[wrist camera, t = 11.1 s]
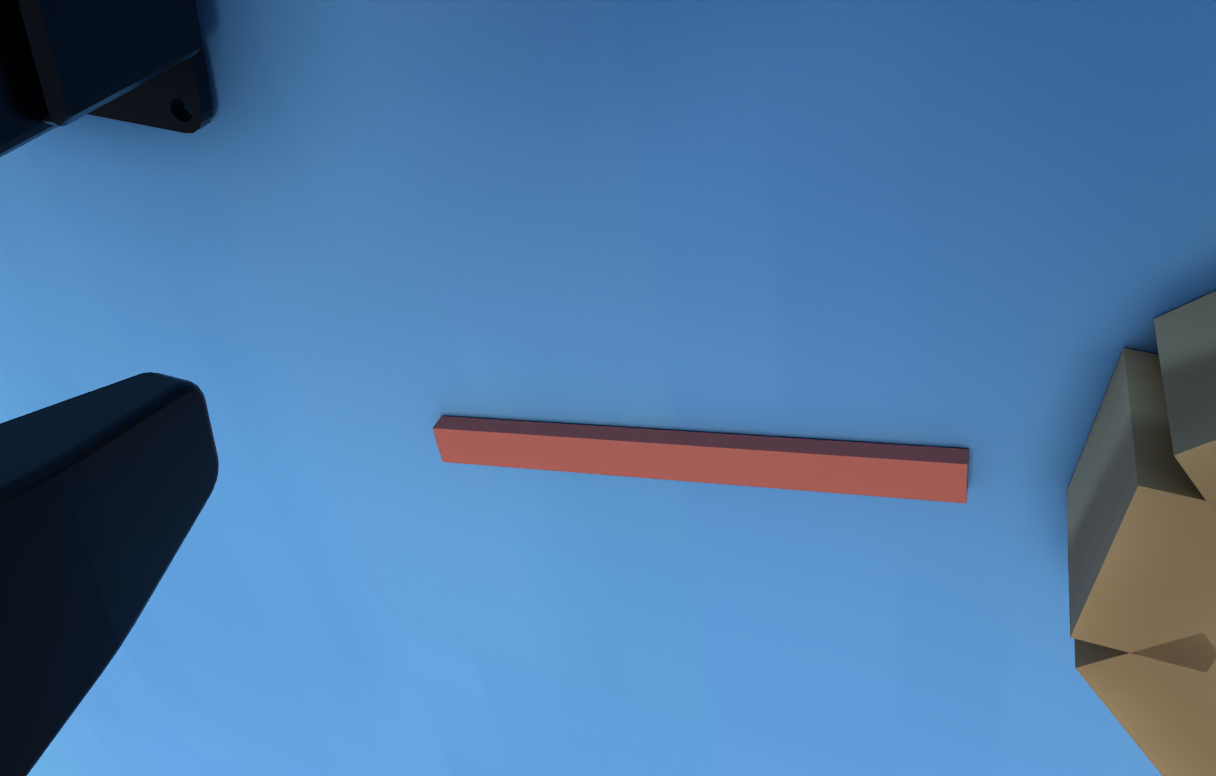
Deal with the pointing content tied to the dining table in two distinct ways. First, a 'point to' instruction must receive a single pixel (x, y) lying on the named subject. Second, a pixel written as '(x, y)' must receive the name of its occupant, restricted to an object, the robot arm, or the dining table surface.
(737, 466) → the brick-red rectangular plank
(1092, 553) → the tan segmented ring
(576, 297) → the dining table surface
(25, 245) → the dining table surface
